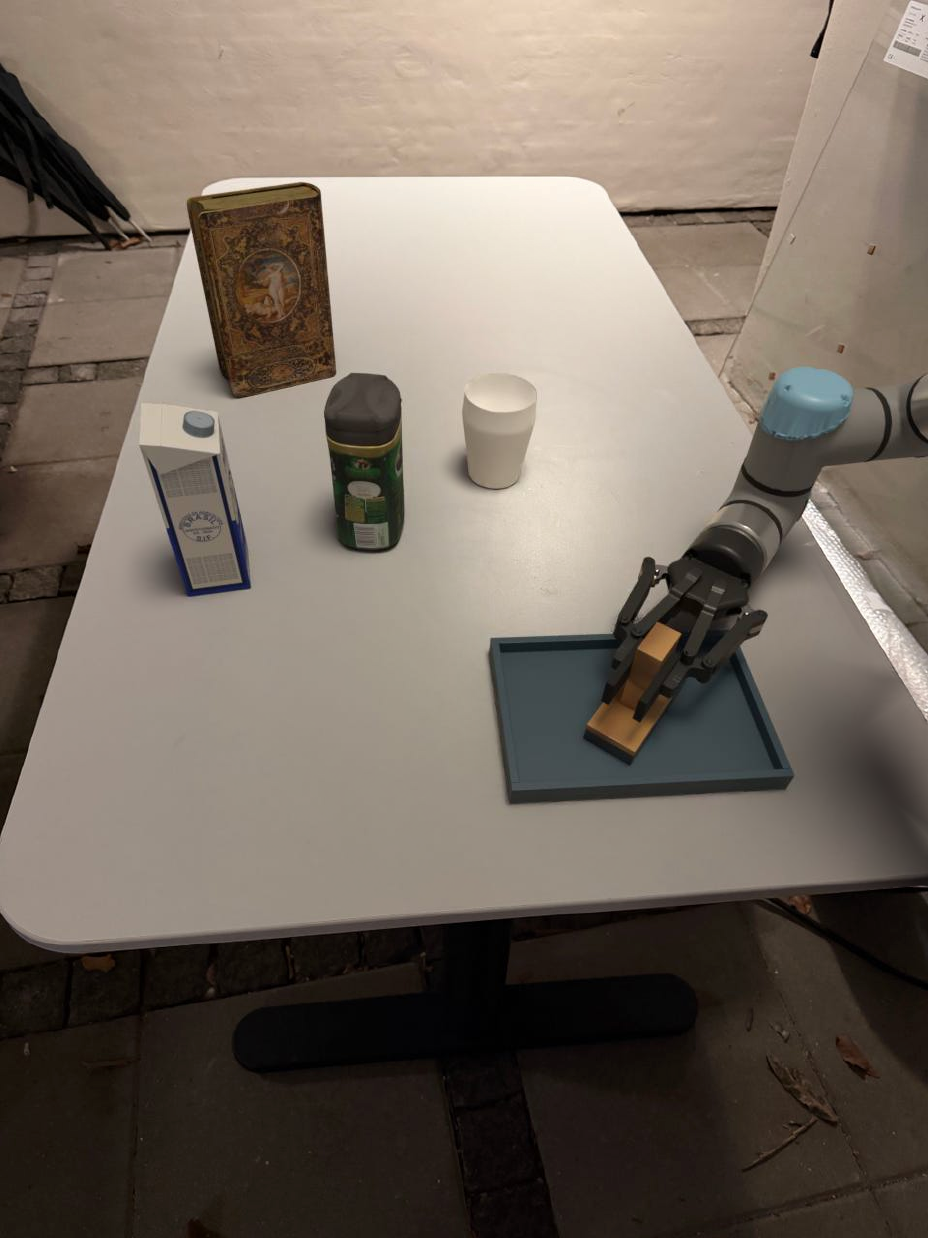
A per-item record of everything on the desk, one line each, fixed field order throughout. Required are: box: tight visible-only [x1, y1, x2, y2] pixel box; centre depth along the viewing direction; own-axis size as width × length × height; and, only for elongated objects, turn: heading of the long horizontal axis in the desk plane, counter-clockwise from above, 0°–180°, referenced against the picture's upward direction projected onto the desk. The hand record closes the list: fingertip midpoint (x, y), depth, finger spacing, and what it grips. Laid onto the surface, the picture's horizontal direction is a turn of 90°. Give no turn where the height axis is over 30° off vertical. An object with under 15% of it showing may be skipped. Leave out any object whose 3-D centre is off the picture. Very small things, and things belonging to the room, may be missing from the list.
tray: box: [488, 628, 795, 805], centre depth 75 cm, size 18×26×2 cm
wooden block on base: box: [583, 622, 687, 765], centre depth 71 cm, size 5×12×10 cm, turn 144°
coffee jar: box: [323, 372, 406, 551], centre depth 86 cm, size 10×8×19 cm
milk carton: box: [138, 402, 252, 598], centre depth 79 cm, size 7×7×20 cm
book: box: [186, 181, 337, 398], centre depth 105 cm, size 16×6×25 cm, turn 118°
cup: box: [461, 372, 538, 490], centre depth 97 cm, size 9×9×12 cm
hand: (623, 702), depth 67 cm, fingers closed on wooden block on base, 2 cm apart
